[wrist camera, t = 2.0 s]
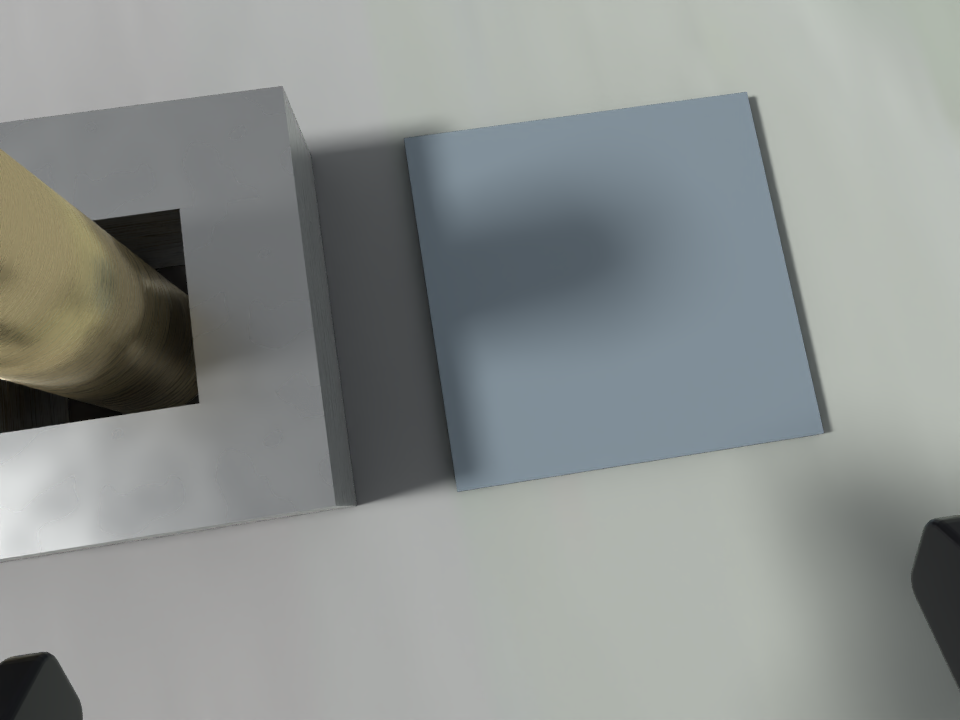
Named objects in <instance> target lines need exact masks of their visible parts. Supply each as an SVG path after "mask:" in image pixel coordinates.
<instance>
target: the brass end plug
mask: <svg viewBox="0 0 960 720" xmlns="http://www.w3.org/2000/svg"><path fill="white" fill-rule="evenodd" d="M0 379H3V380H6V381H10V382H14V383H17V384H21V385H24V386H28V387H32V388H35V389H39V390H42V391H46V392H50V393H53V394H57V395H60V396H64V397H67V398H71V399H75V400H78V401H82V402H85V403H89V404H93V405H96V406H100V407H103V408H107V409H111V410H114V411H118V412H121V413H125V414H133V413H139V412H146V411H152V410H159V409H166V408H172V407H179V406H184V405H186V404H188V403H189V402H190V401H191V400H193V399H194V398H195V397H196V396H197V395H198V384H197V375H196V365H195V355H194V345H193V335H192V326H191V316H190V306H189V296H188V295H186V294H185V293H184V292H183V291H181V290H180V289H179V288H178V287H176V286H175V285H174V284H172V283H171V282H170V281H169V280H167V279H166V278H165V277H164V276H162V275H161V274H160V273H158V272H157V271H156V270H155V269H153V268H152V267H151V266H149V265H148V264H147V263H146V262H144V261H143V260H142V259H141V258H139V257H138V256H137V255H135V254H134V253H133V252H132V251H130V250H129V249H128V248H127V247H125V246H124V245H123V244H121V243H120V242H119V241H118V240H116V239H115V238H114V237H112V236H111V235H110V234H109V233H107V232H106V231H105V230H104V229H102V228H101V227H100V226H98V225H97V224H96V223H95V222H93V221H92V220H91V219H90V218H88V217H87V216H86V215H84V214H83V213H82V212H81V211H79V210H78V209H77V208H76V207H74V206H73V205H72V204H70V203H69V202H68V201H67V200H65V199H64V198H63V197H61V196H60V195H59V194H58V193H56V192H55V191H54V190H53V189H51V188H50V187H49V186H47V185H46V184H45V183H44V182H42V181H41V180H40V179H39V178H37V177H36V176H35V175H33V174H32V173H31V172H30V171H28V170H27V169H26V168H25V167H23V166H22V165H21V164H19V163H18V162H17V161H16V160H14V159H13V158H12V157H10V156H9V155H8V154H7V153H5V152H4V151H3V150H2V149H0Z"/></svg>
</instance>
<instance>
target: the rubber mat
mask: <svg viewBox="0 0 960 720" xmlns="http://www.w3.org/2000/svg"><path fill="white" fill-rule="evenodd" d="M404 142H405V149H406V156H407V162H408V169H409V175H410V182H411V189H412V195H413V202H414V208H415V215H416V222H417V228H418V235H419V241H420V248H421V255H422V261H423V268H424V274H425V281H426V288H427V294H428V301H429V307H430V314H431V321H432V327H433V334H434V340H435V347H436V354H437V360H438V367H439V373H440V380H441V387H442V393H443V400H444V406H445V413H446V420H447V426H448V433H449V440H450V446H451V453H452V459H453V466H454V473H455V479H456V486H457V492H460V491H466V490H472V489H479V488H485V487H491V486H497V485H504V484H510V483H516V482H523V481H529V480H535V479H541V478H548V477H554V476H560V475H567V474H573V473H579V472H585V471H592V470H598V469H604V468H611V467H617V466H623V465H629V464H636V463H642V462H648V461H655V460H661V459H667V458H673V457H680V456H686V455H692V454H699V453H705V452H711V451H717V450H724V449H730V448H736V447H743V446H749V445H755V444H761V443H768V442H774V441H780V440H787V439H793V438H799V437H805V436H812V435H818V434H823V433H824V431H823V427H822V422H821V418H820V413H819V409H818V404H817V400H816V396H815V391H814V387H813V382H812V378H811V373H810V369H809V365H808V360H807V356H806V351H805V347H804V343H803V338H802V334H801V329H800V325H799V320H798V316H797V312H796V307H795V303H794V298H793V294H792V290H791V285H790V281H789V276H788V272H787V267H786V263H785V259H784V254H783V250H782V245H781V241H780V237H779V232H778V228H777V223H776V219H775V214H774V210H773V206H772V201H771V197H770V192H769V188H768V184H767V179H766V175H765V170H764V166H763V161H762V157H761V153H760V148H759V144H758V139H757V135H756V130H755V126H754V122H753V117H752V113H751V108H750V104H749V100H748V95H747V92H742V93H735V94H727V95H720V96H712V97H705V98H698V99H690V100H683V101H675V102H668V103H661V104H653V105H646V106H638V107H631V108H624V109H616V110H609V111H601V112H594V113H587V114H579V115H572V116H565V117H557V118H550V119H542V120H535V121H528V122H520V123H513V124H505V125H498V126H491V127H483V128H476V129H468V130H461V131H454V132H446V133H439V134H431V135H424V136H417V137H409V138H404Z"/></svg>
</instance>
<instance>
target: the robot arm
mask: <svg viewBox="0 0 960 720" xmlns="http://www.w3.org/2000/svg"><path fill="white" fill-rule="evenodd" d="M911 582H912V588H913V591H914V594H915V597H916V599H917V601H918V604H919V606H920V608H921V610H922V612H923V614H924V616H925V618H926V621H927V623H928V625H929V627H930V629H931V631H932V633H933V635H934V638H935V640H936V642H937V644H938V646H939V648H940V650H941V652H942V655H943V657H944V659H945V661H946V663H947V665H948V667H949V670H950V672H951V674H952V676H953V678H954V680H955V682H956V684H957V687H958V689H959V691H960V515H955V516H949V517H942V518H935V519H932V520H930V521H929V522H928V523H927V524H926V525H925V527H924V529H923V533H922V536H921V540H920V543H919V547H918V550H917V554H916V557H915V561H914V564H913V568H912V573H911ZM0 720H83V713H82V706H81V703H80V700H79V698H78V696H77V694H76V692H75V691H74V689H73V687H72V685H71V683H70V682H69V680H68V678H67V676H66V675H65V673H64V671H63V669H62V668H61V666H60V664H59V662H58V660H57V659H56V658H55V656H53V655H52V654H50V653H48V652H39V653H32V654H26V655H19V656H13V657H10V658H7V659H5V660H4V661H2V662H1V663H0Z"/></svg>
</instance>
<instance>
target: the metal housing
mask: <svg viewBox="0 0 960 720" xmlns="http://www.w3.org/2000/svg"><path fill="white" fill-rule="evenodd" d="M0 149H2V150H3V151H4V152H5V153H7V154H8V155H9V156H10V157H12V158H13V159H14V160H16V161H17V162H18V163H19V164H21V165H22V166H23V167H25V168H26V169H27V170H28V171H30V172H31V173H32V174H33V175H35V176H36V177H37V178H39V179H40V180H41V181H42V182H44V183H45V184H46V185H47V186H49V187H50V188H51V189H53V190H54V191H55V192H56V193H58V194H59V195H60V196H61V197H63V198H64V199H65V200H67V201H68V202H69V203H70V204H72V205H73V206H74V207H76V208H77V209H78V210H79V211H81V212H82V213H83V214H84V215H86V216H87V217H88V218H90V219H91V220H92V221H93V222H95V223H96V224H97V225H98V226H100V227H101V228H102V229H104V230H105V231H106V232H107V233H109V234H110V235H111V236H112V237H114V238H115V239H116V240H118V241H119V242H120V243H121V244H123V245H124V246H125V247H127V248H128V249H129V250H130V251H132V252H133V253H134V254H135V255H137V256H138V257H139V258H141V259H142V260H143V261H144V262H146V263H147V264H148V265H149V266H151V267H152V268H153V269H156V268H163V267H170V266H178V265H185V267H186V277H187V287H188V296H189V306H190V316H191V326H192V335H193V345H194V355H195V365H196V375H197V384H198V394H199V404H192V405H186V406H179V407H172V408H166V409H159V410H152V411H146V412H139V413H133V414H126V415H119V416H113V417H106V418H99V419H93V420H86V421H79V422H73V423H69V412H68V399H67V397H64V396H60V395H57V394H53V393H50V392H46V391H42V390H39V389H35V388H32V387H28V386H24V385H21V384H17V383H14V382H10V381H6V380H3V379H0V562H6V561H13V560H19V559H25V558H32V557H38V556H44V555H50V554H57V553H63V552H69V551H76V550H82V549H88V548H94V547H101V546H107V545H113V544H120V543H126V542H132V541H139V540H145V539H151V538H157V537H164V536H170V535H176V534H183V533H189V532H195V531H201V530H208V529H214V528H220V527H227V526H233V525H239V524H245V523H252V522H258V521H264V520H271V519H277V518H283V517H289V516H296V515H302V514H308V513H315V512H321V511H327V510H333V509H340V508H346V507H352V506H357V503H356V495H355V488H354V480H353V472H352V465H351V457H350V449H349V442H348V434H347V427H346V419H345V411H344V404H343V396H342V388H341V381H340V373H339V366H338V358H337V350H336V343H335V335H334V327H333V320H332V312H331V305H330V297H329V289H328V282H327V274H326V267H325V259H324V251H323V244H322V236H321V228H320V221H319V213H318V206H317V198H316V190H315V183H314V175H313V167H312V160H311V154H310V152H309V149H308V147H307V145H306V142H305V140H304V137H303V135H302V132H301V130H300V128H299V125H298V123H297V120H296V118H295V115H294V113H293V111H292V108H291V106H290V103H289V101H288V98H287V96H286V94H285V91H284V89H283V86H279V87H271V88H264V89H256V90H249V91H241V92H233V93H226V94H218V95H210V96H203V97H195V98H187V99H180V100H172V101H164V102H157V103H149V104H141V105H134V106H126V107H118V108H111V109H103V110H95V111H88V112H80V113H73V114H65V115H57V116H50V117H42V118H34V119H27V120H19V121H11V122H4V123H0Z"/></svg>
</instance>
